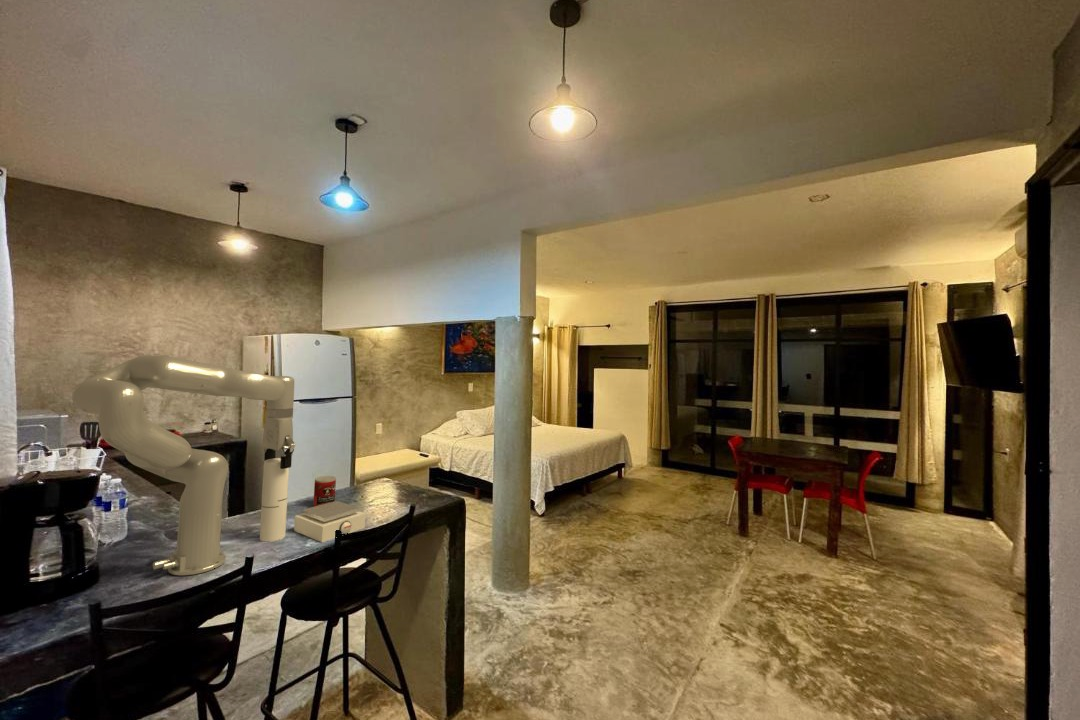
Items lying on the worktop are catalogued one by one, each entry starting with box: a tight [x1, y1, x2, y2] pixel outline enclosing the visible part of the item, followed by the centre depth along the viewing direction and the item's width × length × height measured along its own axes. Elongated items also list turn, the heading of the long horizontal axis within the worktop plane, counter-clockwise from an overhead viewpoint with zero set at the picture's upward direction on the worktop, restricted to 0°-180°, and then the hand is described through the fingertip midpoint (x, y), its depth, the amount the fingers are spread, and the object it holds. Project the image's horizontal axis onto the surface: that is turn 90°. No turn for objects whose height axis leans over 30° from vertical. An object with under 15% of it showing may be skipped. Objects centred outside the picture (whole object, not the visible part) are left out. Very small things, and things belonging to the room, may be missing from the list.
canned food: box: [313, 475, 337, 507], centre depth 173 cm, size 8×8×11 cm
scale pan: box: [301, 500, 360, 522], centre depth 150 cm, size 13×13×1 cm
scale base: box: [293, 511, 367, 543], centre depth 150 cm, size 16×17×5 cm
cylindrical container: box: [259, 457, 290, 543], centre depth 141 cm, size 7×7×25 cm
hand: (277, 465), depth 142 cm, fingers open, 9 cm apart
